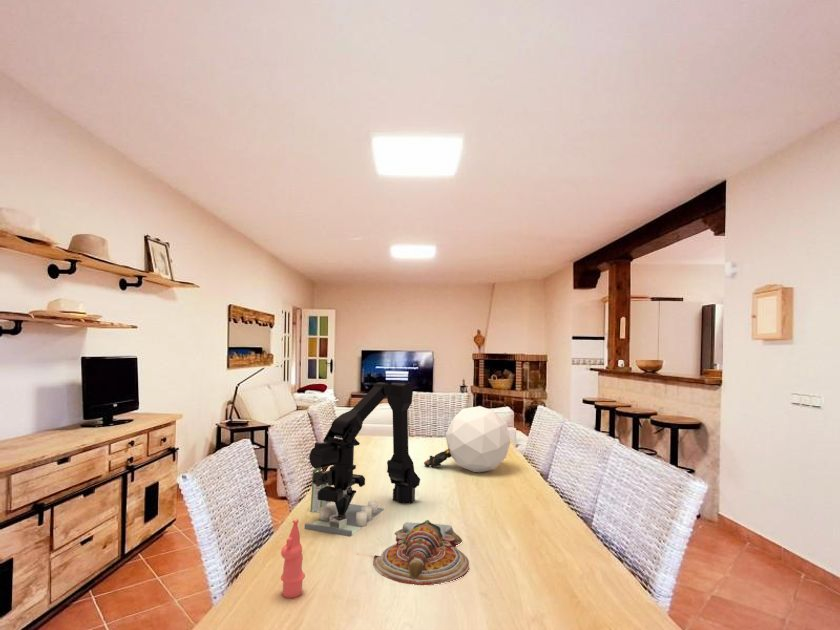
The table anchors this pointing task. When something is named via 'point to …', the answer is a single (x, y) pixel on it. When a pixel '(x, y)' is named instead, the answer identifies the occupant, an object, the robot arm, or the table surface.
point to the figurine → (292, 564)
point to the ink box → (315, 502)
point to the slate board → (351, 522)
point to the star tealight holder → (338, 521)
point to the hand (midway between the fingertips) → (341, 517)
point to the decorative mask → (423, 555)
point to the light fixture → (475, 440)
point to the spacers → (360, 516)
